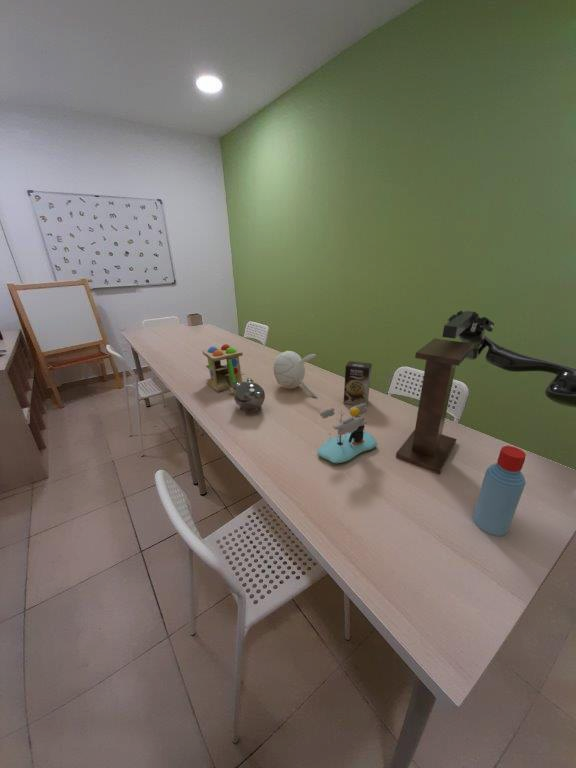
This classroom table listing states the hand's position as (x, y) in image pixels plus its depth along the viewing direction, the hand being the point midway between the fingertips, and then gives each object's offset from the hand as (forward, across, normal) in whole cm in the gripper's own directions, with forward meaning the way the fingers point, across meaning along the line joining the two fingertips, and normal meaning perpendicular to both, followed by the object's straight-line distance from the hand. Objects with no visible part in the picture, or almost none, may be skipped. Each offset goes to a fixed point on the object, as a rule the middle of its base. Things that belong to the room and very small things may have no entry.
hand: (466, 314), depth 88 cm
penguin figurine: (+9, +19, -49) cm, 53 cm away
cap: (+22, -19, -38) cm, 47 cm away
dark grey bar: (+4, 0, -6) cm, 7 cm away
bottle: (+14, -19, -52) cm, 57 cm away
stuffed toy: (-12, +59, -36) cm, 71 cm away
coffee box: (-17, +32, -34) cm, 50 cm away
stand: (-3, 0, -42) cm, 42 cm away
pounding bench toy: (+1, +86, -44) cm, 97 cm away
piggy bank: (+10, +62, -49) cm, 80 cm away
